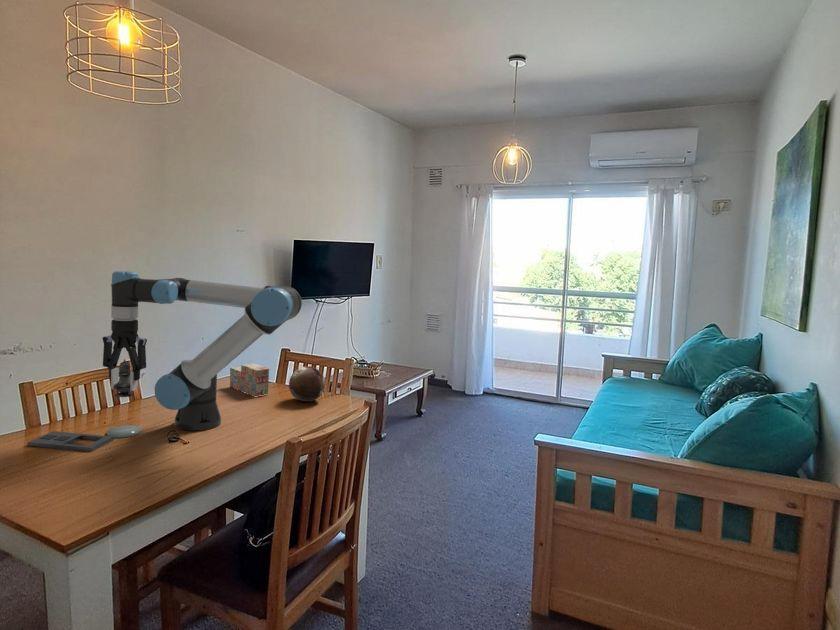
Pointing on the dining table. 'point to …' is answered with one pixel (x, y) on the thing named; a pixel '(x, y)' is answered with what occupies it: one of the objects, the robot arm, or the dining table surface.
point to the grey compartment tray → (69, 441)
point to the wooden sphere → (307, 383)
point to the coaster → (124, 431)
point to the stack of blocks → (250, 379)
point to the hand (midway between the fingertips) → (124, 388)
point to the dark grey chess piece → (124, 380)
